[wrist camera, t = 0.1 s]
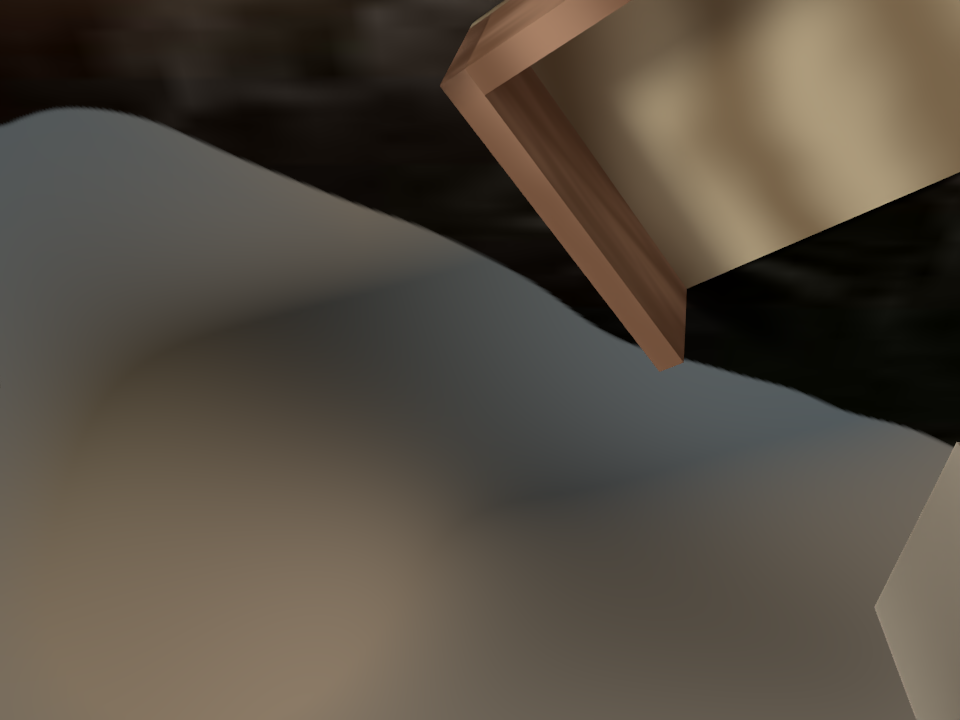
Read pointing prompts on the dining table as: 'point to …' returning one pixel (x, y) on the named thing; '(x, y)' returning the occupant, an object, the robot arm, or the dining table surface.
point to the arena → (707, 129)
